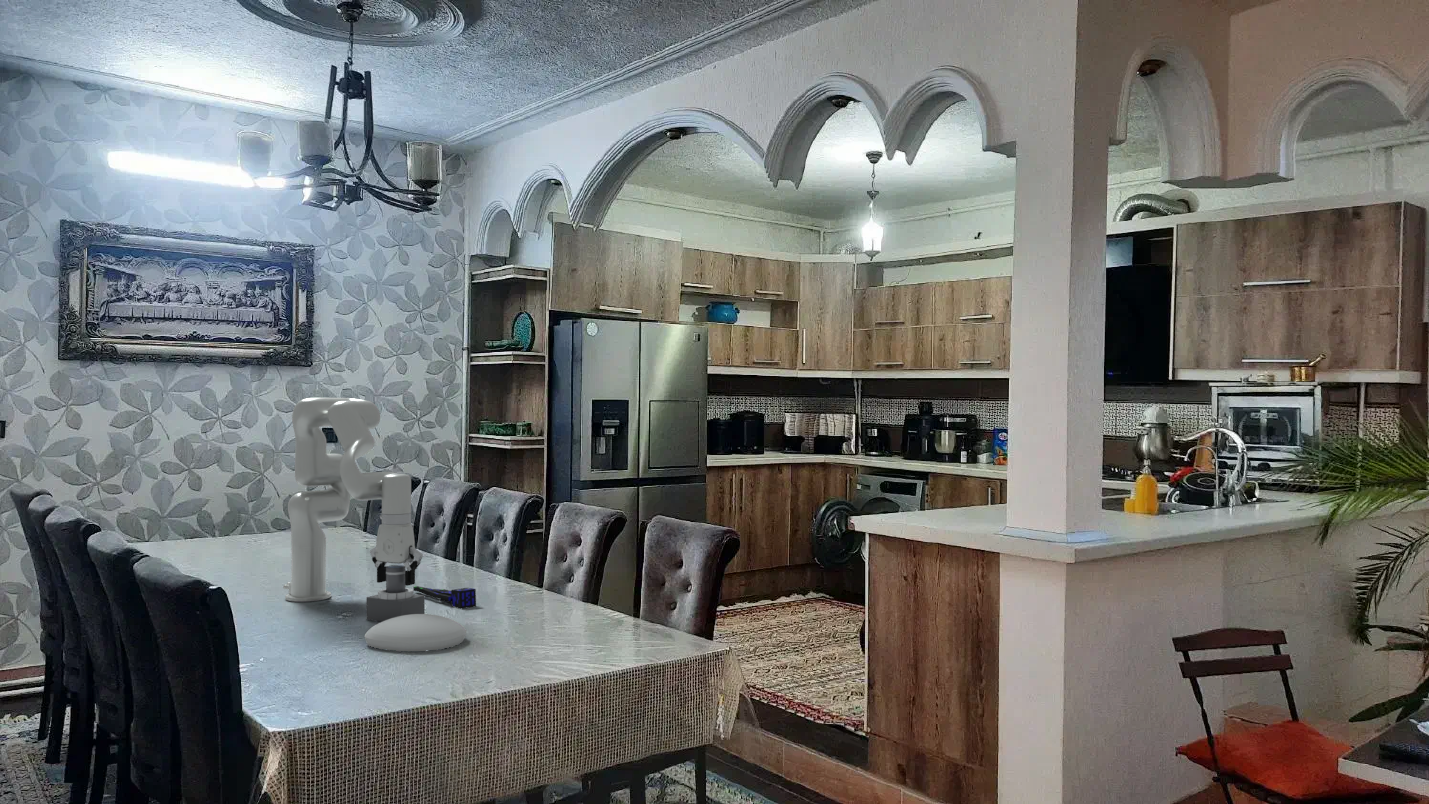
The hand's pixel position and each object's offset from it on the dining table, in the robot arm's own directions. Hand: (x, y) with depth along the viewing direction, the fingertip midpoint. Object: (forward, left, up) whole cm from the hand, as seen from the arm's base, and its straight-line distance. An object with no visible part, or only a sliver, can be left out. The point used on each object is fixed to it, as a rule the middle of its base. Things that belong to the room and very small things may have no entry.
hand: (395, 583), depth 273 cm
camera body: (0, 0, -10) cm, 10 cm away
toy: (-6, +27, -10) cm, 29 cm away
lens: (0, 0, -4) cm, 4 cm away
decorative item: (+23, -18, -10) cm, 31 cm away
